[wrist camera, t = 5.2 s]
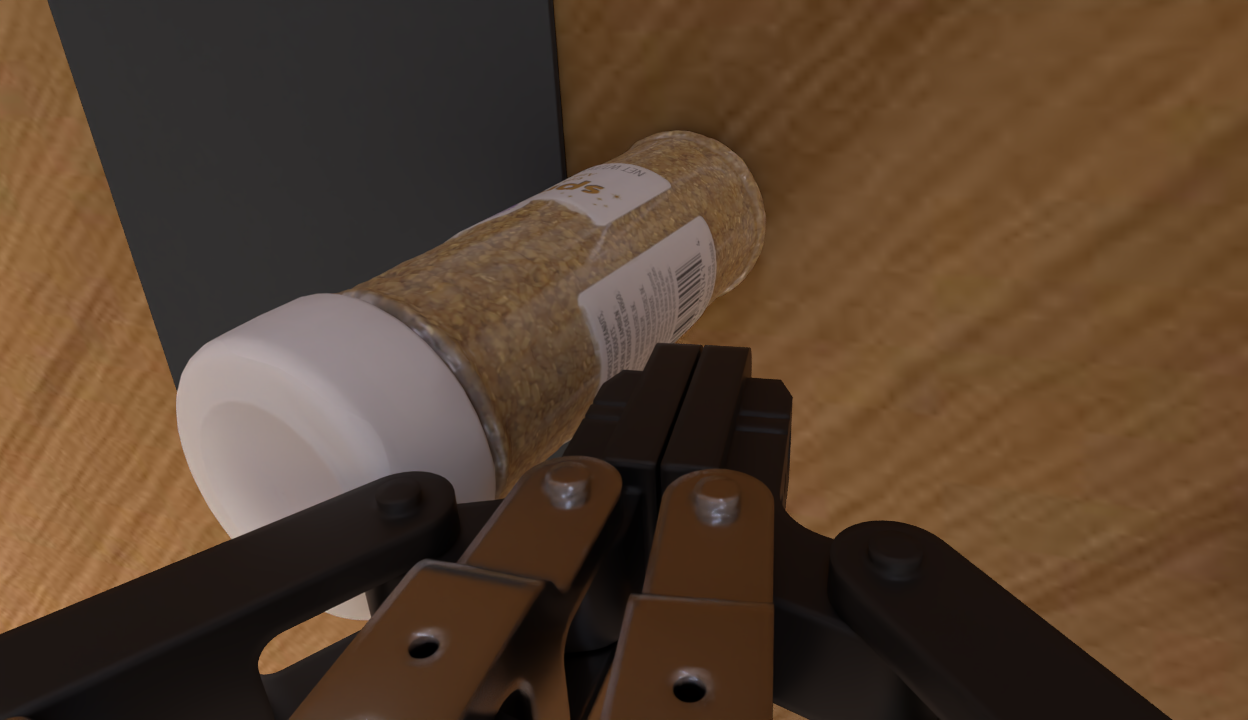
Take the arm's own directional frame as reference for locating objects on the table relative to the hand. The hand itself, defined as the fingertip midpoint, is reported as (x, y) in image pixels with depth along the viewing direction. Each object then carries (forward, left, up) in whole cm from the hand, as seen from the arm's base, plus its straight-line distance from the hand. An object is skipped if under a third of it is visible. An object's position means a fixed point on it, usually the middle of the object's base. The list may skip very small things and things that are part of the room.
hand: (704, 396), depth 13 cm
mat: (0, -13, -10) cm, 16 cm away
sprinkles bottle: (0, -2, -9) cm, 9 cm away
